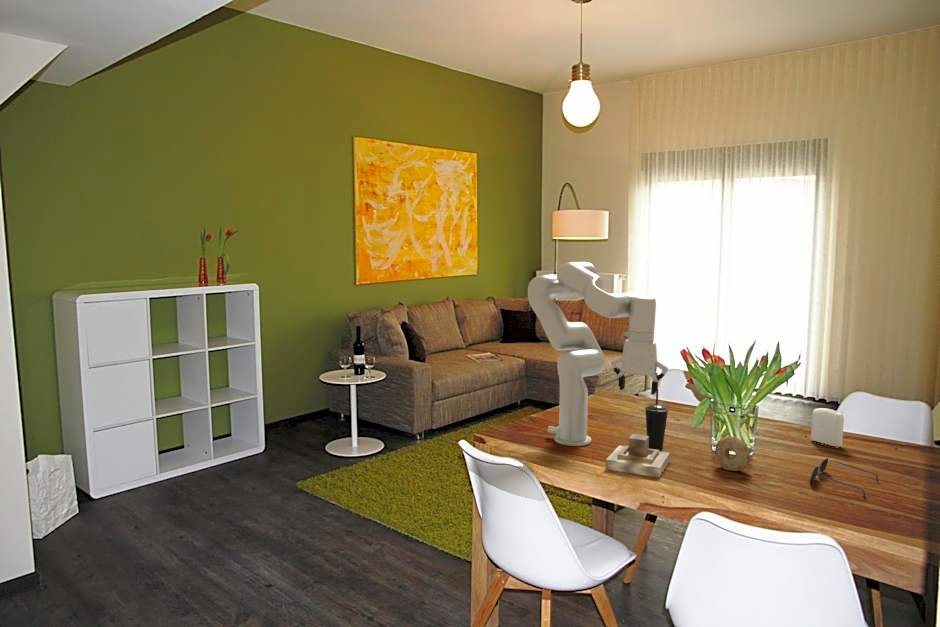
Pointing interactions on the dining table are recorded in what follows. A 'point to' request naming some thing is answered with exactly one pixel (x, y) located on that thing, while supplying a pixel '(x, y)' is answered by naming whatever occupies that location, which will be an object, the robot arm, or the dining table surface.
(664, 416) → the drinking cup
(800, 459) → the dining table surface
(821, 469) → the sunglasses
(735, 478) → the dining table surface
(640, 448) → the walnut block
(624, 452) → the base
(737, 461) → the stone disc
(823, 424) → the photo printer
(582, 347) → the robot arm
